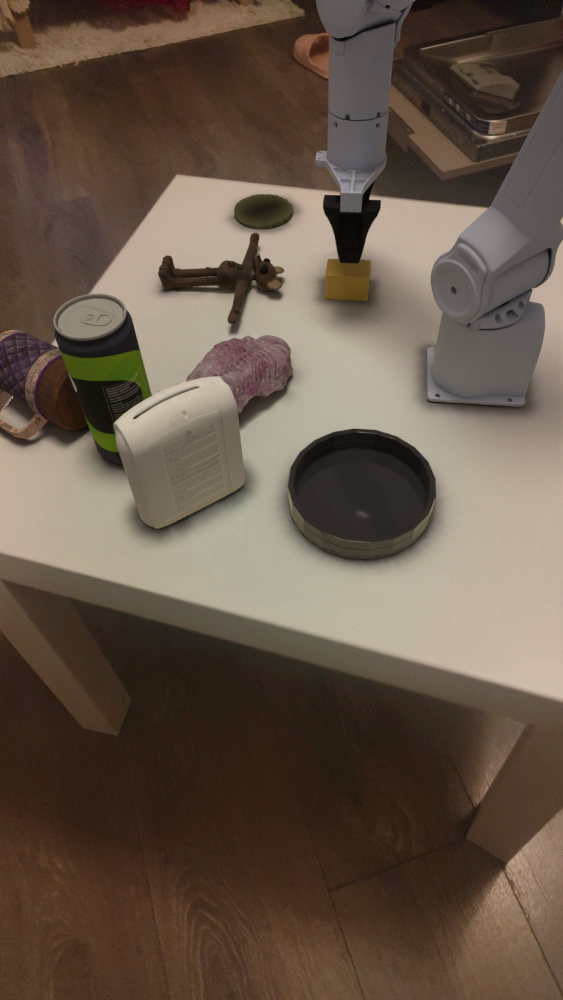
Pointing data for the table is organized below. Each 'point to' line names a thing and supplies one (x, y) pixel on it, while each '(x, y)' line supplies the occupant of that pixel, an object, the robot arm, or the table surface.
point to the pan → (361, 493)
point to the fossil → (248, 366)
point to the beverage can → (102, 363)
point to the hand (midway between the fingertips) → (351, 241)
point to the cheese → (347, 280)
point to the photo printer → (181, 449)
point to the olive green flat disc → (263, 210)
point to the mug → (38, 383)
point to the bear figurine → (226, 276)
